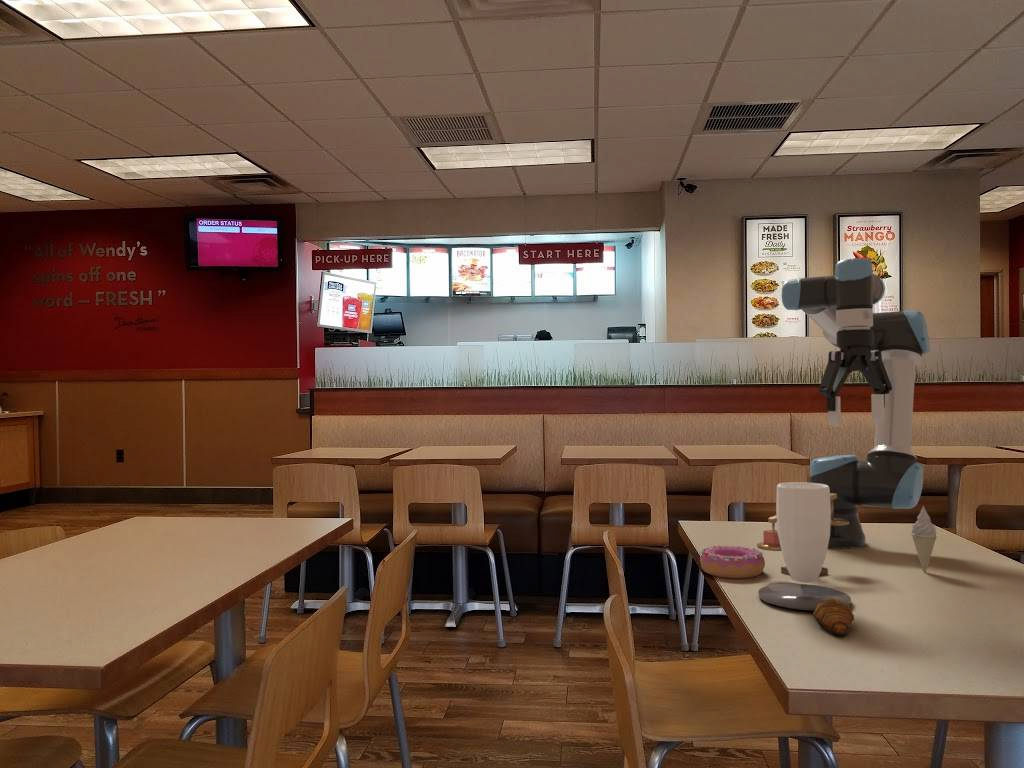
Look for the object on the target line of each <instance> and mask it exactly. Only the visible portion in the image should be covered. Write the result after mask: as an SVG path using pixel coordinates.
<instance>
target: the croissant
mask: <svg viewBox="0 0 1024 768" xmlns="http://www.w3.org/2000/svg"><path fill="white" fill-rule="evenodd" d="M812 614H813V616H814V618H815V619H816V622H817V623H818V624H819V625H820V626H821V627H822V628H824V629H825V630H826V631H827V632H829V633H830V634H832V635H834V636H837V637H846V636H847V635H848V633H849V631H850V629H851V627H852V625H853V621H854V620H855V615H854V613H853V611H852V610H851V607H850V605H849V606H848V605H846V604H844V603H842V602H839V601H837V600H835V599H831V600H827V601H824V602H820V603H818V605H817V607H816V609H815V611H814V610H813V613H812Z"/></svg>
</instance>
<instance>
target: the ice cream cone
mask: <svg viewBox="0 0 1024 768" xmlns="http://www.w3.org/2000/svg"><path fill="white" fill-rule="evenodd" d="M916 518H917V520H916V521H915V522H914V524H912V527H911V529H912V530H911V533H912V534H911V537H912V540H913V542H914V543H913V544H914V546H915V550H916V553H917V557H918V559H919V563H920V565H921V566H920V567H921V569H922V571H923V573H926V572H927V570H928V566H929V563H930V559H931V556H932V553H933V550H934V546H935V543H936V540H937V538H938V537H937V531H936V530H937V529H936V525H935V524H933V523H932V522H931V517H930V515H929V514H928V512H927V510H926V508H925V506H924V505H922V507H921V510H920V511H919V514H918V515H917V517H916Z"/></svg>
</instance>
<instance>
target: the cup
mask: <svg viewBox="0 0 1024 768" xmlns="http://www.w3.org/2000/svg"><path fill="white" fill-rule="evenodd" d="M775 499H776V503H775V505H776V507H775V510H776V511H775V512H776V513H775V515H776V516H777V522H776V526H777V527H776V530H777V531H778V537H779V542H780V546H781V551H780V552H781V554H782V557H783V561H784V563H785V566H786V567H787V570H788V572H789V574H790V575H789V576H790V579H791V580H792V581H794V582H798V583H803V584H808V583H816V582H817V581H818V578H819V577H820V575H819V574H820V572H821V570H822V567H824V564H825V560H826V557H827V551H828V548H829V547H828V543H829V538H830V521H831V506H830V488H829V486H827V485H825V484H819V483H810V482H804V481H803V482H802V481H800V482H799V481H798V482H797V481H796V482H795V481H791V482H781V483H778V484H777V485H776V497H775Z"/></svg>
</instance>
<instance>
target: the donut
mask: <svg viewBox="0 0 1024 768" xmlns="http://www.w3.org/2000/svg"><path fill="white" fill-rule="evenodd" d="M699 554H700V557H699V563H700V567H701V569H702V571H704V573H706V574H708V575H709V576H713V577H717V578H718V577H719V578H724V579H725V578H726V579H747V578H748V579H749V578H754V577H757V576H759V575H761V574H762V573H763V571H764V569H765V564H766V561H765V558H764V554H763V552H761V551H759V550H758V549H755V548H751V547H748V546H746V547H745V546H744V547H743V546H740V545H738V546H734V545H723V546H722V545H713V546H709V547H705V548H703V549H702V550H700V552H699Z"/></svg>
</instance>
